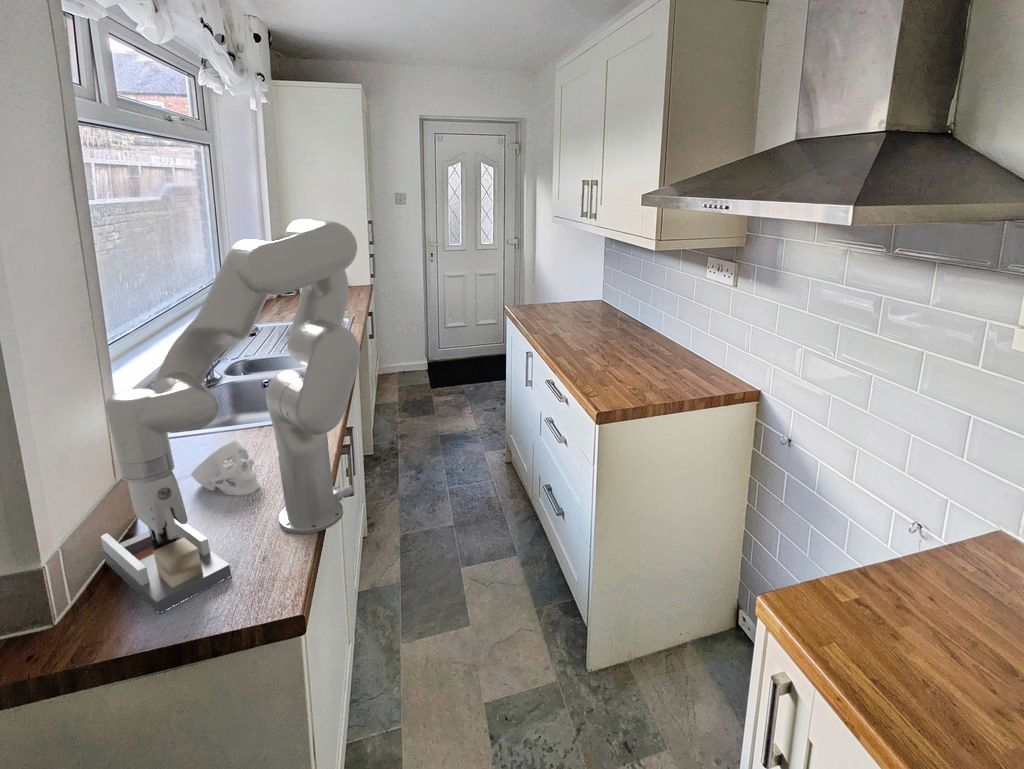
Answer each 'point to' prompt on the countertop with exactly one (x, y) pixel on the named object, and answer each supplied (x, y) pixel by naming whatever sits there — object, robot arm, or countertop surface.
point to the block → (178, 562)
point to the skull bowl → (228, 470)
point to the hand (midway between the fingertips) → (168, 557)
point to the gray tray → (142, 573)
